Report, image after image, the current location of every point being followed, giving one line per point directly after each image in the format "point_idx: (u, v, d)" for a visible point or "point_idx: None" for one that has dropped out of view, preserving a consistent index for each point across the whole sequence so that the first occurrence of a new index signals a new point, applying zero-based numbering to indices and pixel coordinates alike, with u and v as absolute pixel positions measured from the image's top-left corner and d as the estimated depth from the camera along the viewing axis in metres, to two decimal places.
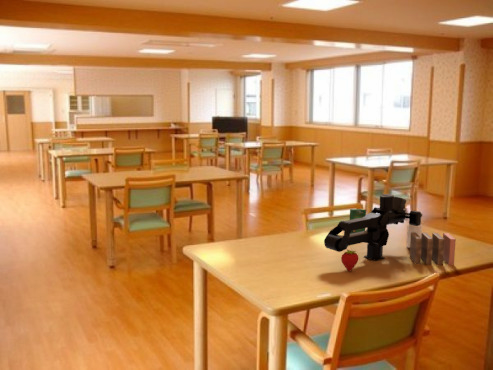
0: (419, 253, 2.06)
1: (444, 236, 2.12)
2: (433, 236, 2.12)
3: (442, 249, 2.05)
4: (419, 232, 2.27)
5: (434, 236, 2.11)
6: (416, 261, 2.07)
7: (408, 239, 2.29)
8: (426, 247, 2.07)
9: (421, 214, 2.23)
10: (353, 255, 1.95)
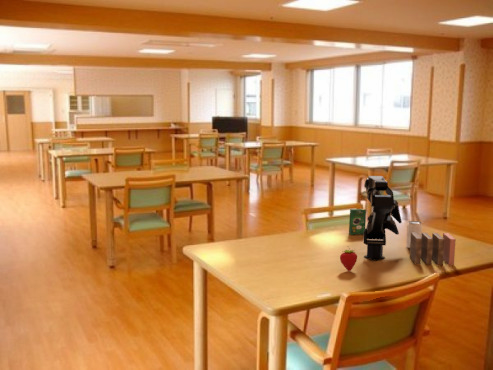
0: (419, 253, 2.06)
1: (444, 236, 2.12)
2: (433, 236, 2.12)
3: (442, 249, 2.05)
4: (419, 232, 2.27)
5: (434, 236, 2.11)
6: (416, 261, 2.07)
7: (408, 239, 2.29)
8: (426, 247, 2.07)
9: None
10: (351, 254, 1.96)
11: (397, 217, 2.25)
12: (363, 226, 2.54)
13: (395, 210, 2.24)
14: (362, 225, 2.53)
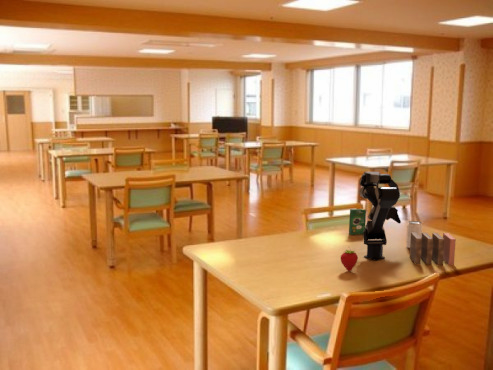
0: (419, 253, 2.06)
1: (444, 236, 2.12)
2: (433, 236, 2.12)
3: (442, 249, 2.05)
4: (419, 232, 2.27)
5: (434, 236, 2.11)
6: (416, 261, 2.07)
7: (408, 239, 2.29)
8: (426, 247, 2.07)
9: None
10: (352, 255, 1.95)
11: None
12: (363, 226, 2.54)
13: None
14: (362, 225, 2.53)
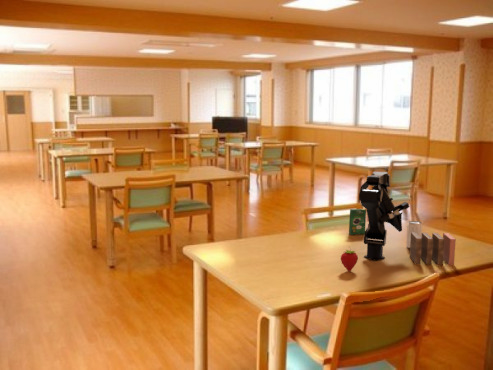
0: (419, 253, 2.06)
1: (444, 236, 2.12)
2: (433, 236, 2.12)
3: (442, 249, 2.05)
4: (419, 232, 2.27)
5: (434, 236, 2.11)
6: (416, 261, 2.07)
7: (408, 239, 2.29)
8: (426, 247, 2.07)
9: None
10: (352, 255, 1.95)
11: None
12: (363, 226, 2.54)
13: None
14: (362, 225, 2.53)
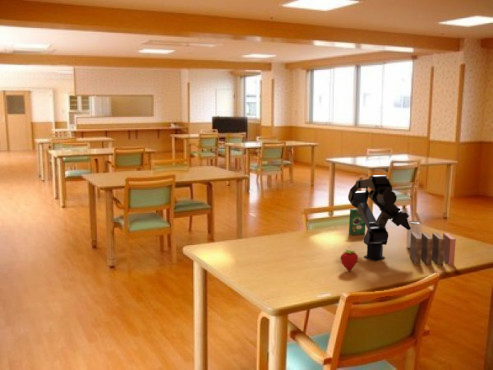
0: (419, 253, 2.06)
1: (444, 236, 2.12)
2: (433, 236, 2.12)
3: (442, 249, 2.05)
4: (419, 232, 2.27)
5: (434, 236, 2.11)
6: (416, 261, 2.07)
7: (408, 239, 2.29)
8: (426, 247, 2.07)
9: None
10: (352, 255, 1.95)
11: None
12: (363, 226, 2.54)
13: None
14: (362, 225, 2.53)
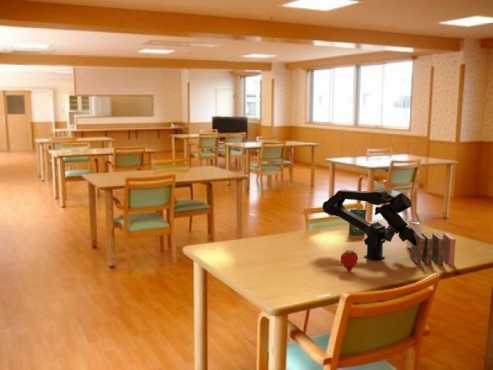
0: (421, 253, 2.06)
1: (444, 236, 2.12)
2: (433, 236, 2.12)
3: (442, 249, 2.05)
4: (419, 232, 2.27)
5: (434, 236, 2.11)
6: (416, 260, 2.07)
7: None
8: (426, 247, 2.07)
9: None
10: (352, 255, 1.95)
11: None
12: None
13: None
14: None
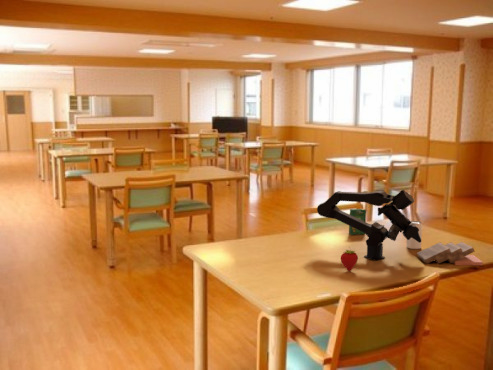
0: (436, 258, 2.06)
1: (472, 256, 2.13)
2: (461, 244, 2.14)
3: (464, 255, 2.06)
4: (419, 232, 2.27)
5: (463, 244, 2.13)
6: (427, 259, 2.06)
7: None
8: None
9: None
10: (352, 255, 1.95)
11: None
12: None
13: None
14: None
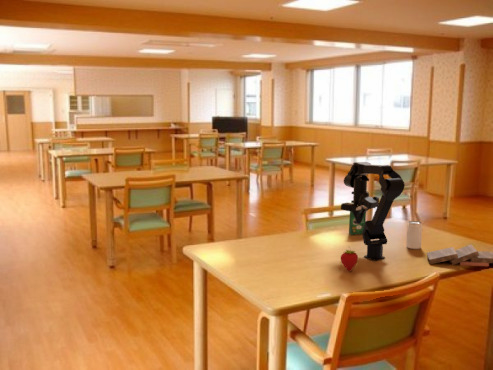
0: (442, 260, 2.05)
1: None
2: (490, 252, 2.11)
3: (487, 261, 2.03)
4: (419, 232, 2.27)
5: (492, 253, 2.09)
6: (432, 259, 2.06)
7: (408, 239, 2.29)
8: (466, 253, 2.05)
9: (358, 221, 2.25)
10: (352, 255, 1.95)
11: None
12: (363, 226, 2.54)
13: None
14: (362, 225, 2.53)
